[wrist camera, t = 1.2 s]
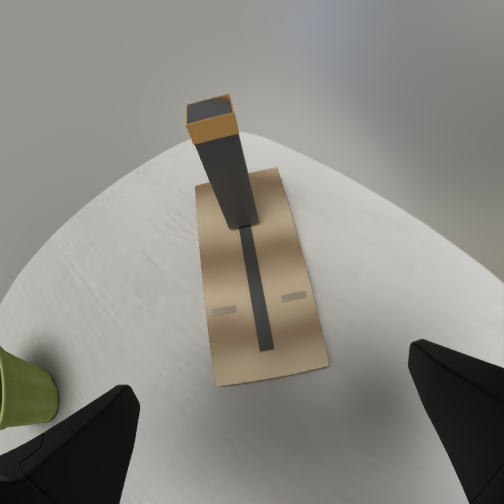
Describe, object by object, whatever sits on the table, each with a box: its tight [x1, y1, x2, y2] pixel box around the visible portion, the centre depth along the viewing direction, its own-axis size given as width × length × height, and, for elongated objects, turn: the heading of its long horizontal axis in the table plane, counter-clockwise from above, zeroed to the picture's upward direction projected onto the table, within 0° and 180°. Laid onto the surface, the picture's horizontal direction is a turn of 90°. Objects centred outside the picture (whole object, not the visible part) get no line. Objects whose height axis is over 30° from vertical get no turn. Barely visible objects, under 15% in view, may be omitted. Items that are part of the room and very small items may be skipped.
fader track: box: [195, 167, 329, 387], centre depth 24 cm, size 18×8×2 cm, turn 9°
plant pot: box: [0, 346, 58, 430], centre depth 18 cm, size 9×9×9 cm
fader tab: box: [186, 94, 259, 229], centre depth 19 cm, size 2×3×11 cm
